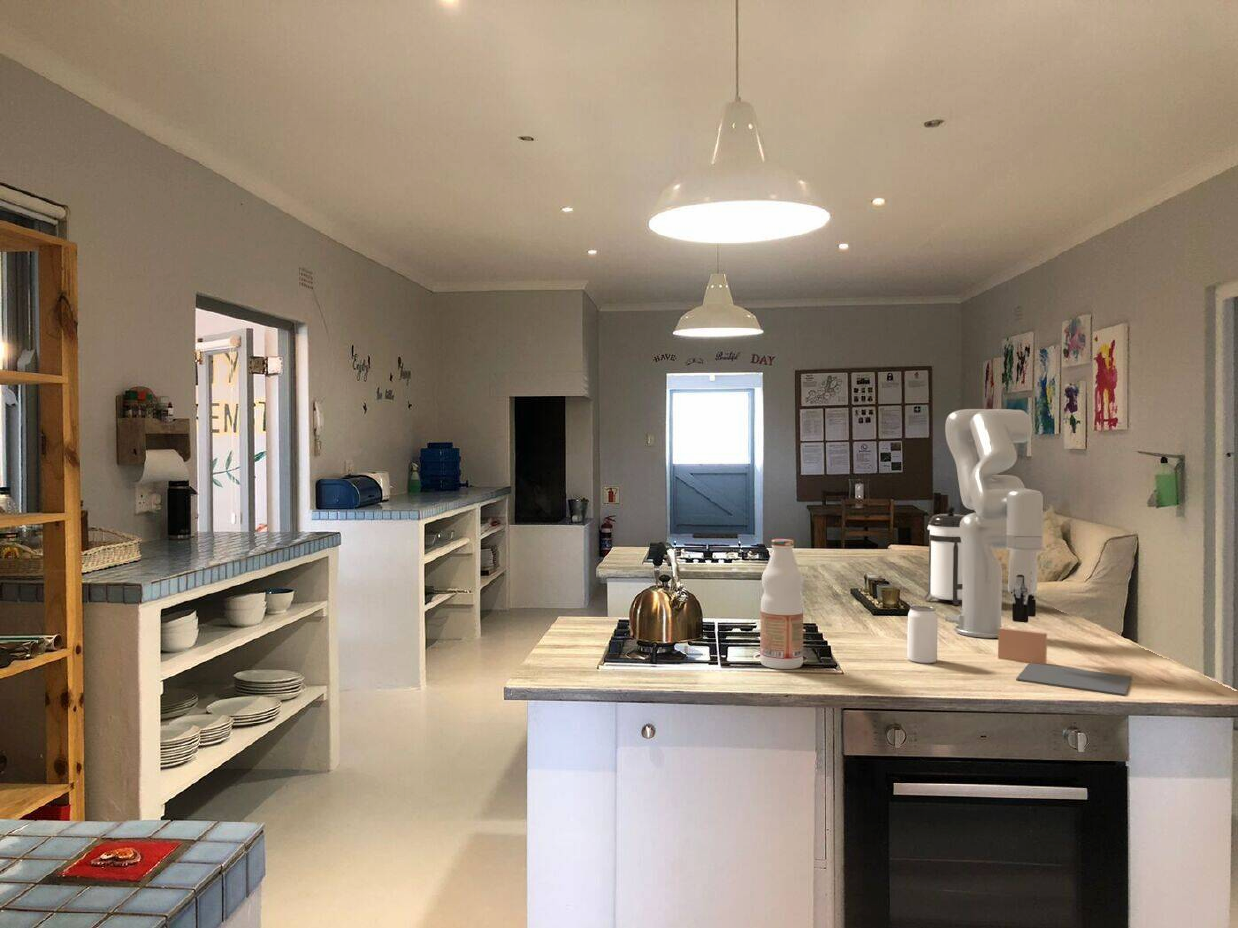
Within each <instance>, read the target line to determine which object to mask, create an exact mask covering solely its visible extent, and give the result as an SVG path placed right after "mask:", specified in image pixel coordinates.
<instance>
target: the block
mask: <svg viewBox="0 0 1238 928" xmlns="http://www.w3.org/2000/svg"><path fill="white" fill-rule="evenodd" d="M997 639H998V648H997V651H998V653H997V659H1001V660H1007V661H1014V662H1015V661H1016V662H1023V663H1028V664H1029V663H1035V664H1042V665H1047V662H1048V660H1047V659H1048V658H1047V657H1048V656H1047V655H1048V653H1047V652H1048V632H1044V631H1043V632H1042V631H1034V630H1033V631H1032V630H1027V629H1026V630H1024V629H1016V628H1006V627H1001V628H999V636H998V638H997Z"/></svg>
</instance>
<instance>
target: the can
mask: <svg viewBox="0 0 1238 928" xmlns="http://www.w3.org/2000/svg"><path fill="white" fill-rule="evenodd" d="M938 624H939V621H938V614H937V611H936V608H935V607H932V606H925V605H923V606H922V605H913V606H910V607H909V611H908V614H907V637H906V638H907V639H906V640H907V641H906V642H907V648H906V649H907V650H906V652H907V655H906V656H907V659H908V661H910V662H912V663H915V664H924V665H926V664H929V665H930V664H935V663H936V662H937V661H938V626H939V625H938Z"/></svg>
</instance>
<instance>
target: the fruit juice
mask: <svg viewBox="0 0 1238 928" xmlns="http://www.w3.org/2000/svg"><path fill="white" fill-rule="evenodd" d="M794 546H795V543H794V540H793V539H790V538H789V539H787V538H774V539H771V548H772V552H771V554H770V557H769V559H768V563H767V564H766V567H765V569H764V570H763V573H762V575H761V585H762V589H763V594H762V595H761V599H760V600H761V601H760V632H759V633H760V639H759V640H760V642H759V643H760V646H759V648H760V650H759V651H760V652H759V653H760V654H759V658H760V660H759V661H760V663H761V665H763V666H764V667H766V668H769V669H771V668H772V669H776V670H777V669H778V670H794V669H795V670H796V669H798V668H801V667H802V665H803V662H804V600H803V596H802V594H801V593H802V592H801V591H802V589H803V585H804V577H803V574H802V572H801V570H800V569H799V565H798V563H797V560H796V558H795V554H794V552H793V549H794Z"/></svg>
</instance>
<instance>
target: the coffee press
mask: <svg viewBox="0 0 1238 928" xmlns="http://www.w3.org/2000/svg"><path fill="white" fill-rule="evenodd" d="M946 512H947V513H940V514H935V515H933V516H931V518H930V521H928V526H927V530H928V531H929V535H928V540H929V542H928V588H927V590H928V591H927V593H926V595H925V596H924V601H925V602H928V603H929V602H931V600H933V599H938V600H939V599H940V600H947V601H948V600H949V601H951V603H952V606H955V607H958V606H959V601H962V586H963V554H962V544H961V537H960V522H961V520H962V518H963V517H964V516H965V515H964V514H959V513H958V514H956V513H954V512H955V507H954V506H952V505H949V506H948V507H947V508H946ZM929 595H930V596H931V597H930V598H929V599H928V600H927V598H928V596H929Z"/></svg>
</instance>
